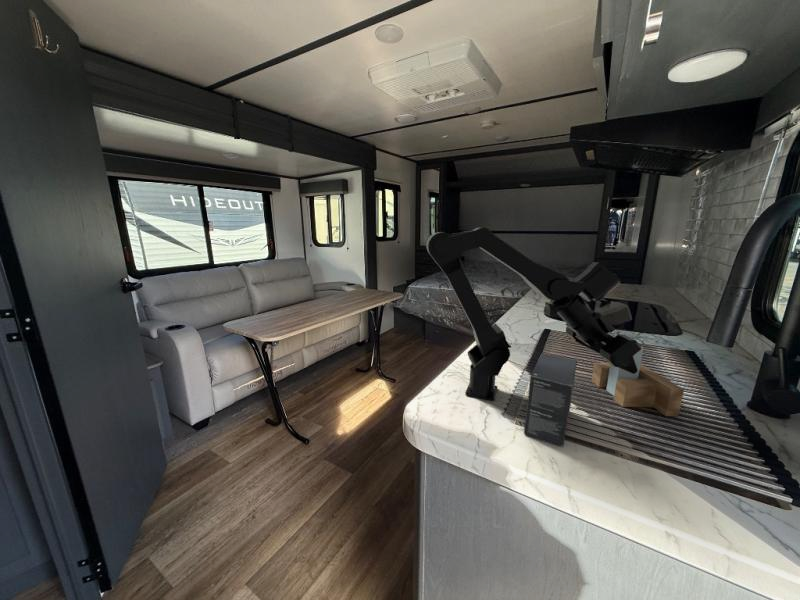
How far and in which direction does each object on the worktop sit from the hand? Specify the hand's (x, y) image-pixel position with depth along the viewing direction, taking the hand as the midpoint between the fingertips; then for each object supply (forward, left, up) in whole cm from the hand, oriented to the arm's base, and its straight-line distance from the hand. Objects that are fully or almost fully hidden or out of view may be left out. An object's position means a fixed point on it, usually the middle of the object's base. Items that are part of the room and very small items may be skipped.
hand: (620, 363), depth 71 cm
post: (0, -1, -7) cm, 8 cm away
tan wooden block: (+1, -2, -7) cm, 8 cm away
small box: (-19, +15, -8) cm, 25 cm away
